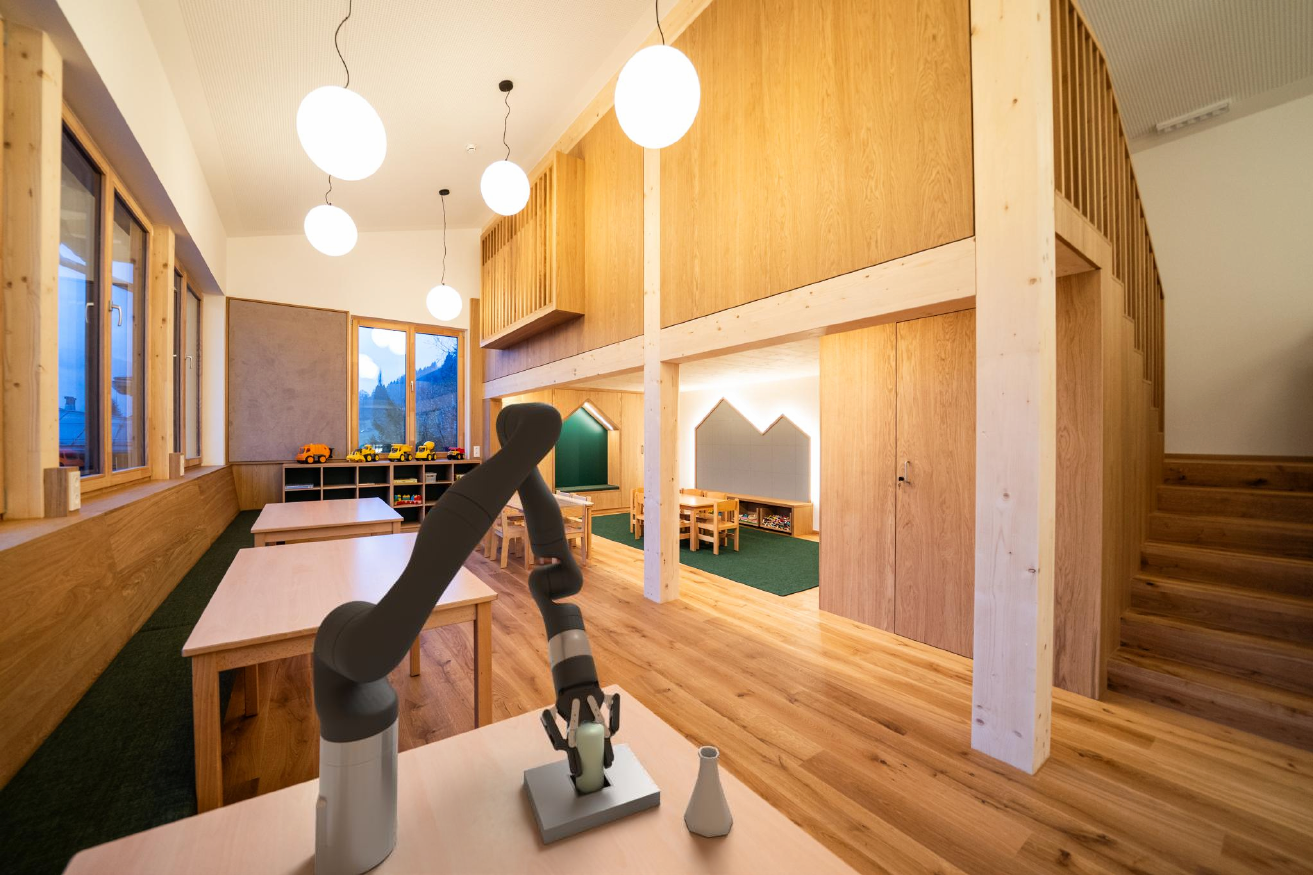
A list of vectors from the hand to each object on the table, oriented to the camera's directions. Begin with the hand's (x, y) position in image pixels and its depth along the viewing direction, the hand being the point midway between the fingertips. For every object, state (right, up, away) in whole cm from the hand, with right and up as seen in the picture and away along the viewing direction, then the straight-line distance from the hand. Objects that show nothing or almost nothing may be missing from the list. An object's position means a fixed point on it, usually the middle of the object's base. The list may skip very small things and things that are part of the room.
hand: (594, 770), depth 78 cm
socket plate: (-1, -5, +2) cm, 5 cm away
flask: (+17, -5, -4) cm, 19 cm away
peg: (-1, -5, +2) cm, 5 cm away
